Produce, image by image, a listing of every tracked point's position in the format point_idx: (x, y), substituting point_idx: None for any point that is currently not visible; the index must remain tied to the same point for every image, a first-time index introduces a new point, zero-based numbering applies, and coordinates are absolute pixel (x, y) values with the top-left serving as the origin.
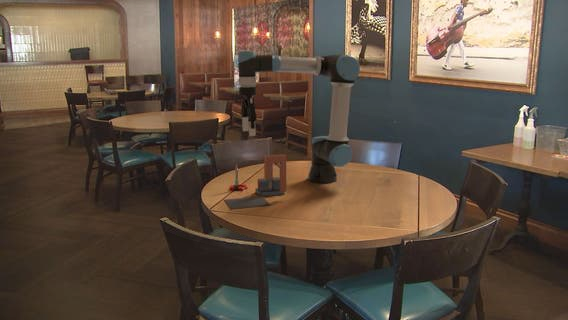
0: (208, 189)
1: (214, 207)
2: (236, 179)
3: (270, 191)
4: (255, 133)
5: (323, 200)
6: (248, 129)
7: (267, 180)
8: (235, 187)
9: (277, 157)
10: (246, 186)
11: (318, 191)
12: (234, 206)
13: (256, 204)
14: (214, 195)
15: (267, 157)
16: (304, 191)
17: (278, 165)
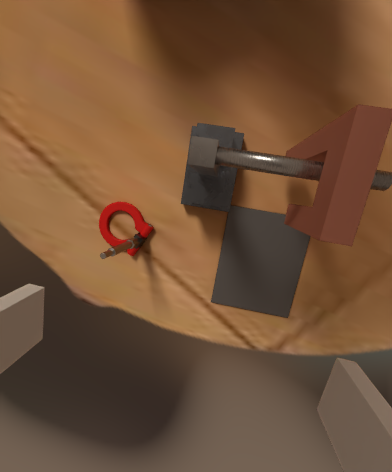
0: (105, 296)
1: (251, 339)
2: (131, 246)
3: (232, 178)
4: (371, 383)
5: (365, 48)
6: (31, 297)
7: (220, 180)
8: (140, 245)
9: (369, 173)
10: (130, 207)
11: (269, 9)
12: (275, 303)
13: (291, 251)
14: (161, 303)
15: (352, 235)
16: (245, 58)
17: (385, 189)
